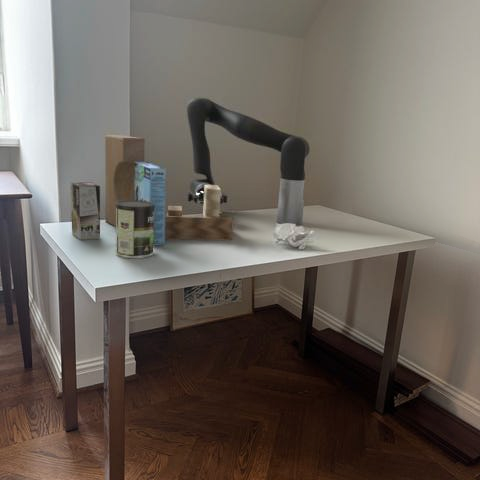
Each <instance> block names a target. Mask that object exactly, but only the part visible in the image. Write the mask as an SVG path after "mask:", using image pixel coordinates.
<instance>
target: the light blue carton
mask: <svg viewBox="0 0 480 480" xmlns="http://www.w3.org/2000/svg"><path fill="white" fill-rule="evenodd" d="M166 170H167V169H166V168H165V167H162V166H160V165H156V164H154V163H151V162H149V161H144V162H135V176H134V189H135V200H138V201H148V202H152V203H154V204H155V207H154V237H153V246H163V245H165V242H166V240H165V239H166V238H165V216H166V190H167V189H166V183H167V182H166V181H167V179H166V175H167V173H166V172H167V171H166Z"/></svg>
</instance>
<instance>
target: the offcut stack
mask: <svg viewBox="0 0 480 480" xmlns="http://www.w3.org/2000/svg"><path fill="white" fill-rule="evenodd" d="M167 207H168V208H167V213H166V216H183V208H182V205H168V206H167Z"/></svg>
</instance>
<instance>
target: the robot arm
mask: <svg viewBox="0 0 480 480" xmlns="http://www.w3.org/2000/svg"><path fill="white" fill-rule="evenodd" d="M186 114H187V115H186V116H187V121H188V126H189V130H190V136H191V142H192V143H191V145H192V153H193V154H192V158H193V161H192V162H193V171H194V173H195V174H198V175H203V176H205V177H206V178H198V179H192V180H191V182H190V185H189V191H188V194H187V202H193V203H195V204H198V203H199V204H201V205H202V206H203V205H204V185H216V184H215V181H214V178H213V175H212V168H211V167H212V166H211V151H210V147H209V144H208V141H207V140H208V139H207V137H206V130H205V129H206V128H205V126H206V123H210V124H214V125H217V126H220V127H222V128H223V129H225V130H226V131H227V132H229V133H230V134H231V135H232V136H234V137H236V138H237V139H241V141H245V142H247V143H250V144H253V145H257V146H260V147H261V146H262V147H266V148H270V149H273V150H275V151H278V152H279V153H280V164H279V171H280V183H279V191H278V193H279V194H278V206H277V216H276V222H277V224H284V223H290V224H296V226H297V225H303V214H304V207H305V204H304V203H305V200H304V199H303V198H304V189H305V182H306V181H305V180H306V173H305V161H306V158H307V157H308V155H309V154H310V149H311V148H310V144H309V143H308V141H307V140H306V139H305V138H303V137H301V136H298V135H293V134H290V133H287V132H283V131H282V130H281V131H280V130H278V129H277V128H274V127H273V126H270V125H269V124H266V123H265V122H262V121H261V120H258V119H256V118H254V117H251V116H249V115H246V114H243V113H241V112H237V111H234V110H231V109H227V108H226V107H223V106H222V105H220V104H218V103H216V102H214V101H212V100H210V99H209V98H207V97H195V98H191V99H190V100H189V101H188V103H187V105H186ZM226 203H228V195H227V194H226V193H225V192H224V193H222V194H221V195H220V205H222V204H226Z"/></svg>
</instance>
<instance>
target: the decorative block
mask: <svg viewBox="0 0 480 480" xmlns="http://www.w3.org/2000/svg"><path fill="white" fill-rule="evenodd" d="M145 143H146V142H145V138H142V137H138V136H137V137H135V136H129V135H119V134H118V135H116V134H106V135H105V145H104V146H105V147H104V148H105V159H104V160H105V165H104V166H105V169H104V170H105V222H106V223H108V224H110V225H112V226H114V227H115V228H116V202H119V201H128V200H135V162H145V146H146V145H145Z"/></svg>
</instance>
